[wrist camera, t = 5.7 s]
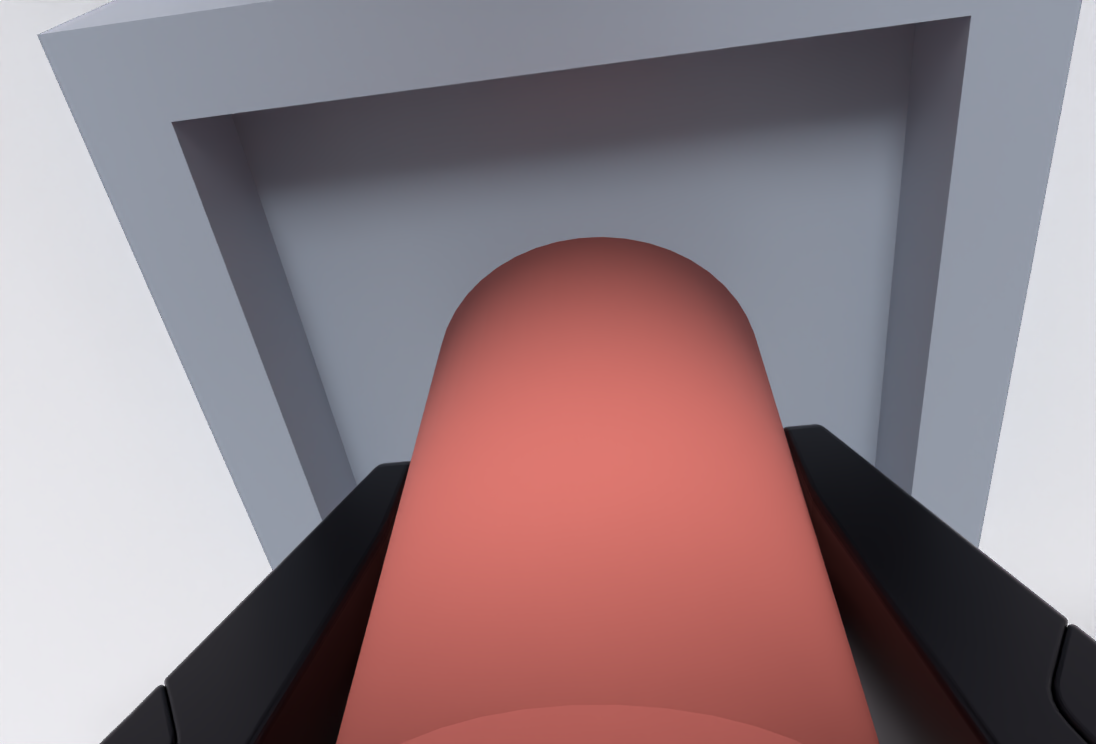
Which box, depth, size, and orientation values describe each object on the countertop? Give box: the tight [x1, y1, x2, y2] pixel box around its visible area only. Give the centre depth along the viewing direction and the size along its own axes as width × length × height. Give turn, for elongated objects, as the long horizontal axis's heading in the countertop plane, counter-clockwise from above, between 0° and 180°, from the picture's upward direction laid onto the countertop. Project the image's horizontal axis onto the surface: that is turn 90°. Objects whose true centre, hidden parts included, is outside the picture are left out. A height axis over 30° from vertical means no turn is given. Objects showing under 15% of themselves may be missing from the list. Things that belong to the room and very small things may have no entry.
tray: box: [38, 0, 1082, 570], centre depth 12 cm, size 10×10×2 cm
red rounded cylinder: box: [336, 237, 879, 744], centre depth 7 cm, size 4×4×9 cm
